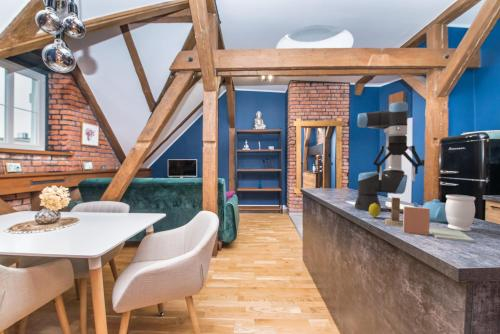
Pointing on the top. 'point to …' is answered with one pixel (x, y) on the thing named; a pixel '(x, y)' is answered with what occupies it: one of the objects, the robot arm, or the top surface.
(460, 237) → the tool mat
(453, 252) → the top surface
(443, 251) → the top surface
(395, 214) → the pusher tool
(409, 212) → the tile
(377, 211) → the lemon
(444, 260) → the top surface
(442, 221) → the teapot
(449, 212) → the jar
